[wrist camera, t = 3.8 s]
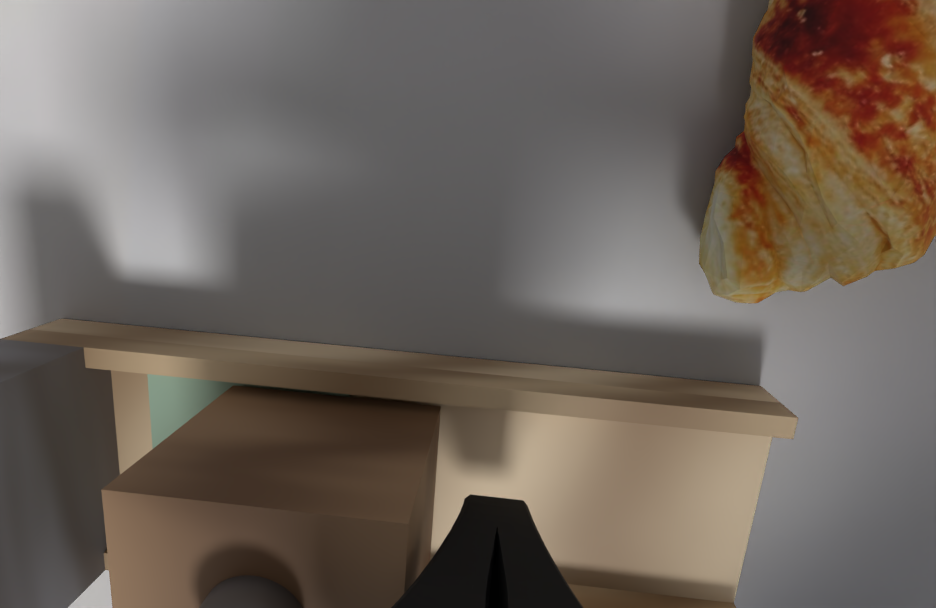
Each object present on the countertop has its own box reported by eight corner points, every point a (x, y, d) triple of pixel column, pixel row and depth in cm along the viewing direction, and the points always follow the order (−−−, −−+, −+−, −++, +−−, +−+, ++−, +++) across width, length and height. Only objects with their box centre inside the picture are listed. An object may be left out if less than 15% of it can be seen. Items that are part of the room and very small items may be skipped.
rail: (761, 386, 14) (900, 506, 9) (715, 590, 15) (814, 790, 10) (61, 318, 14) (-164, 394, 10) (82, 518, 16) (-104, 671, 11)
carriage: (440, 406, 13) (398, 558, 8) (429, 566, 14) (386, 790, 9) (233, 385, 13) (63, 520, 8) (237, 544, 14) (89, 751, 9)
